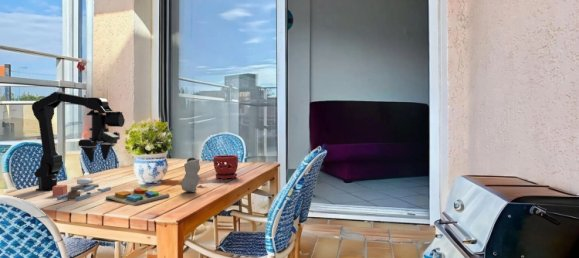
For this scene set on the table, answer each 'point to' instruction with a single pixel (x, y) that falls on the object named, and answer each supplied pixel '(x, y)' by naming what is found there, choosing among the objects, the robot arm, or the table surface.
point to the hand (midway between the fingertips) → (98, 160)
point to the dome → (85, 181)
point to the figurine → (191, 175)
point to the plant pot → (226, 166)
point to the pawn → (73, 194)
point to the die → (59, 190)
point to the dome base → (84, 186)
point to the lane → (86, 194)
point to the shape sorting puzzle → (137, 196)
